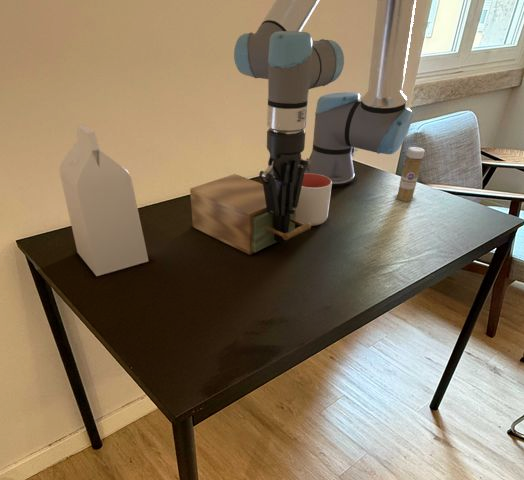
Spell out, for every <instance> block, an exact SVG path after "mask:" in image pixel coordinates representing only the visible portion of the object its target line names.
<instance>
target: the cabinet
mask: <svg viewBox="0 0 524 480" xmlns="http://www.w3.org/2000/svg"><path fill="white" fill-rule="evenodd" d="M189 193H190V194H189V195H190V206H191V208H190V209H191V218H192V219H191V220H192V228H194V229H196V230H198V231H200V232H202V233H204V234H206V235H208V236H210V237H212V238H214V239H216V240H218V241H220V242H222V243H224V244H227V245H229V246H231V247H232V248H235V249H237V250H239V251H240V252H243V253H245V254H247V255H249V256H250V255H252V254H254V253H256V252H254V251H252V216H255V215H257V214H260V213H262V212H264V211H267V207H266V200H265V194H264V188H263V183H261V182H259V181H255V180H252V179H250V178H247V177H245V176H242V175H239V174H236V173H233V174H230V175H228V176H224V177H221V178H218V179H215V180H212V181H209V182H206V183H203V184H199V185H197V186H194V187H191V188H189ZM293 201H294V200H293Z"/></svg>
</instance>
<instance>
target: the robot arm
mask: <svg viewBox="0 0 524 480" xmlns="http://www.w3.org/2000/svg"><path fill="white" fill-rule="evenodd" d="M416 2H417V0H376V10H375V19H374V27H373V28H374V29H373V40H372V47H371V48H372V49H371V56H370V57H371V59H370V67H369V78H368V87H367V91H366V92H365V93H364V95H362V97H361V95H360V93H358V92H353V91H347V92H346V91H345V92H344V91H343V92H333V93H328V94H324V95H322V96H319V98H318V100H317V102H316V108H315V112H314V115H315V117H314V127H313V128H314V129H313V140H312V149H311V153H310V155H309V158H307V157H306V159H303V158H302V153H303V152H304V150H305V148H306V147H305V146H306V145H305V144H306V131H305V130H304V129H305V128H306V127H307V113H308V112H307V111H308V110H307V109H308V102H309V101H308V100H309V90H313V89H316V88H319V87H320V88H321V87H325V86H328V85H329V84H331V83H333V82H335V81H336V80H337V79H339V77H340V76H341V75H342V71H343V70H344V65H345V55H344V51H343V49H342V47H341V46H340V44H339V43H338V42H336V41H335V40H332V39H323V38H322V39H319V40H313V37H312V35H311V34H310V33H309V32H306V31H302V30H303V29H304V28H305V26H306V24H307V22H308V20H309V19H310V17H311V16H312V14H313V12H314V10H315V9H316V7H317V5H318V4H319V3H320V0H274V2H273V4H272V5H271V7H270V9H269V11H268V12H267V14H266V15H265V17H264V19H263V20H262V22H261V24H260V26H258V28H257V30H256V32H255V33H254V32H252V31H251V32H248V33H243V34H241V35H240V36H238V38H237V40H236V41H235V45H234V50H233V61H234V64H235V67H236V69H237V71H238V72H239V73H240V74H242V75H244V76H247V77H251V78H254V79H263V80H267V83H268V84H267V88H268V89H267V93H268V95H267V108H266V109H267V112H266V126H267V128H268V130H267V131H266V149H267V151H268V153H269V157H268V161H267V168H266V169H265V170H260V171H259V174H258V175H259V178H260V181H261V182H262V184H263V188H264V194H265V200H266V207H267V212H268V213H269V214H272V215H274V229H275V230H277V231H280V232H282V233H284V234H285V233H287V232H288V230H289V224H290V214H294V213H295V211H294V210H292V209H293V208H297V206H298V201H299V197H300V192H301V187H302V183H303V178H304V174H319V175H323V176H326V177H328V178H329V179H331V181H332V186H331V187H344V186H348V185H350V184H351V183H353V182H354V178H355V170H354V163H353V157H354V155H355V154H356V153H355V152H356V149H359V150H363V151H367V152H372V153H376V154H384V155H393V154H395V153H396V152H397V151H398V150H399V149H400V147H401V146H402V145H403V143H404V141H405V139H406V137H407V135H408V133H409V130H410V127H411V123H412V119H413V111H412V110H411V109H410V108H409V107H406V106H407V100H408V99H407V98H408V97H407V96H406V95H405V94H404V93H403V87H404V86H403V85H404V82H405V74H406V68H407V61H408V55H409V48H410V42H411V34H412V27H413V22H414V15H415V8H416ZM360 99H361V100H360ZM293 200H294V201H293ZM275 241H277V242H276V243H280V244H283V245H285V244H286V243H288V242H289V239H288V240H284V239H283V237H282V236H280V235H277V234H275Z"/></svg>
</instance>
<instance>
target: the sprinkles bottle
mask: <svg viewBox="0 0 524 480" xmlns="http://www.w3.org/2000/svg"><path fill="white" fill-rule="evenodd" d="M424 155H425V149H424V148H422V147H418V146H409V147H407V149H406V153H405V161H404V165H403V168H402V172H401V176H400V180H399V187H398V192H397V194H396V198H397V199H398V200H400V201H405V202H409V201H412V200H413V198H414V192H415V189H416V186H417V183H418V178H419V174H420V170H421V164H422V162H423V158H424V157H425V156H424Z"/></svg>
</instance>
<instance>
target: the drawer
mask: <svg viewBox="0 0 524 480" xmlns="http://www.w3.org/2000/svg"><path fill="white" fill-rule="evenodd" d="M292 210H294V211H295V213H294V214H290V224H289V230H288V232H287V233H285V234H284V233H282V232H280V231H277V230H275V229H274V215H272V214H269V213H268V212H267V211H264V212H262V213H260V214H257V215H255V216H254V217H252V251H254V252H255V253H257V252H259V251H261V250H263V249H265V248H267V247H269V246H271V245H273V244H276V243H278V242H277V241H275V234H277V235H280V236H282V237H283V239H284V240H288V241H289V240H290V239H292V238H294V237H296V236H298V235H300V234H302V233H304V232H307V231H308V230H310V229H311V228H312V226H311V225H310V223H306V224H305V223H302V222H300V221H297V220H295V216H296V208H293V209H292ZM296 225H297V226H298V227H296Z"/></svg>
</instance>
